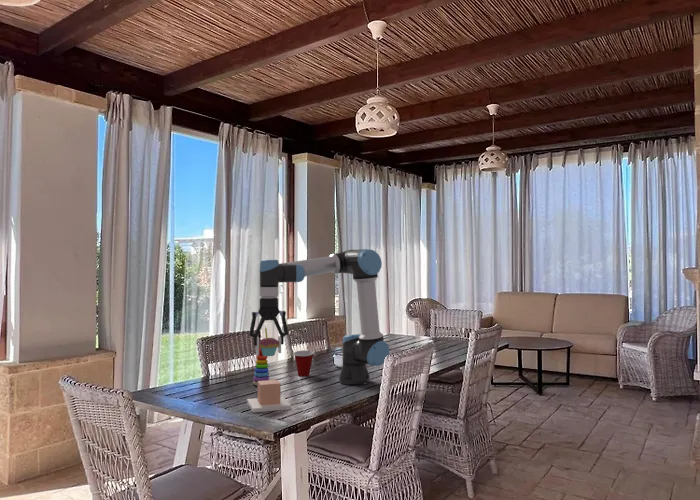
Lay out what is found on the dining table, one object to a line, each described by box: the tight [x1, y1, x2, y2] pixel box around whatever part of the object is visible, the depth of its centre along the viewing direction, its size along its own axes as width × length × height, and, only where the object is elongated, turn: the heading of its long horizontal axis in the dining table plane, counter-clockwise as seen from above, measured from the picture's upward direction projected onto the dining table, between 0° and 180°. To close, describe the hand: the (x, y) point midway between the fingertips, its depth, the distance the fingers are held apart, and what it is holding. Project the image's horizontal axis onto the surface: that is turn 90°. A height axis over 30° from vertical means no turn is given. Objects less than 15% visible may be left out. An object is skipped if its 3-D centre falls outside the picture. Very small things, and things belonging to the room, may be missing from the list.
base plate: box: [246, 395, 292, 413], centre depth 212 cm, size 15×15×2 cm
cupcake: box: [259, 326, 279, 357], centre depth 213 cm, size 9×8×12 cm
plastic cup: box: [293, 349, 315, 377], centre depth 269 cm, size 11×11×12 cm
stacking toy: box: [252, 347, 270, 387], centre depth 249 cm, size 8×8×19 cm
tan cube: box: [257, 379, 281, 405], centre depth 212 cm, size 8×7×8 cm
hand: (268, 353), depth 213 cm, fingers closed on cupcake, 8 cm apart
